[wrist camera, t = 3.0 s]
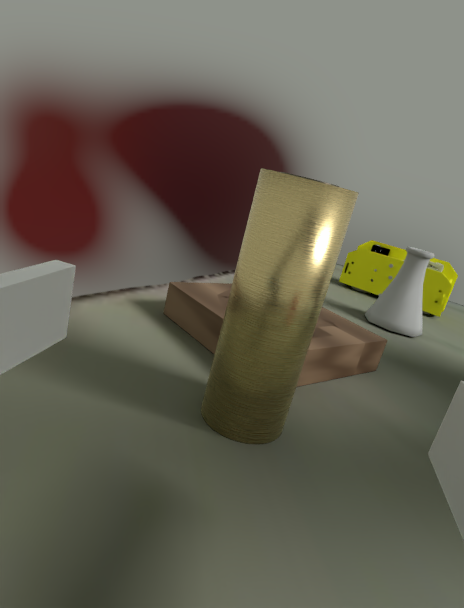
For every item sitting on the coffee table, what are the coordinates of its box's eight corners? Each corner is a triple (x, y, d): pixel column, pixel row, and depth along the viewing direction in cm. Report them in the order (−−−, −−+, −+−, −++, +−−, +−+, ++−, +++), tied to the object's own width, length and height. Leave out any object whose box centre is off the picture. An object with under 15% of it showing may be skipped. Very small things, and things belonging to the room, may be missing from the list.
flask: (422, 330, 55) (451, 257, 53) (420, 343, 49) (453, 261, 46) (367, 311, 58) (393, 240, 55) (359, 322, 52) (387, 243, 49)
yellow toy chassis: (441, 315, 67) (462, 266, 65) (437, 322, 63) (459, 268, 60) (347, 283, 75) (362, 237, 72) (336, 286, 70) (352, 237, 67)
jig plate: (271, 310, 48) (278, 285, 47) (376, 370, 38) (387, 340, 37) (163, 313, 39) (169, 282, 38) (263, 393, 29) (274, 354, 28)
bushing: (246, 389, 29) (306, 179, 25) (299, 433, 25) (378, 196, 21) (185, 401, 25) (241, 162, 21) (235, 452, 22) (314, 178, 18)
